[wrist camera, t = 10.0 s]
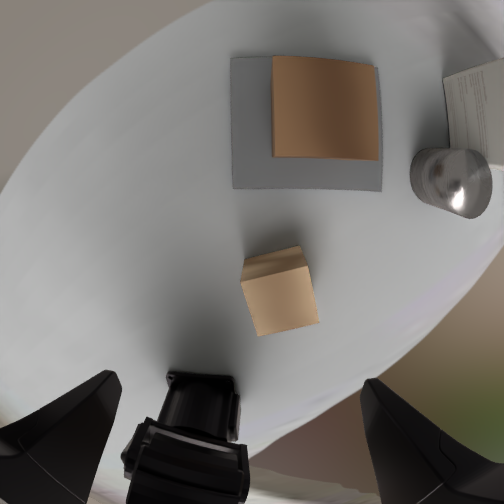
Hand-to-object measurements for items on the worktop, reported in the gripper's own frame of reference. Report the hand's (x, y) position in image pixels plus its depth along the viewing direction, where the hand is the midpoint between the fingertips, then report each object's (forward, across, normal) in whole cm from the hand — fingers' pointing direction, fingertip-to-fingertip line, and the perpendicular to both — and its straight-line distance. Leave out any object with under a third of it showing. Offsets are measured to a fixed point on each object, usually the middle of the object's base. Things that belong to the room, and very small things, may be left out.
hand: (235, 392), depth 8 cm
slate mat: (+12, -4, -10) cm, 16 cm away
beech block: (+12, -2, +1) cm, 12 cm away
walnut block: (+11, -4, -10) cm, 15 cm away
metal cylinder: (+12, -14, -7) cm, 20 cm away
